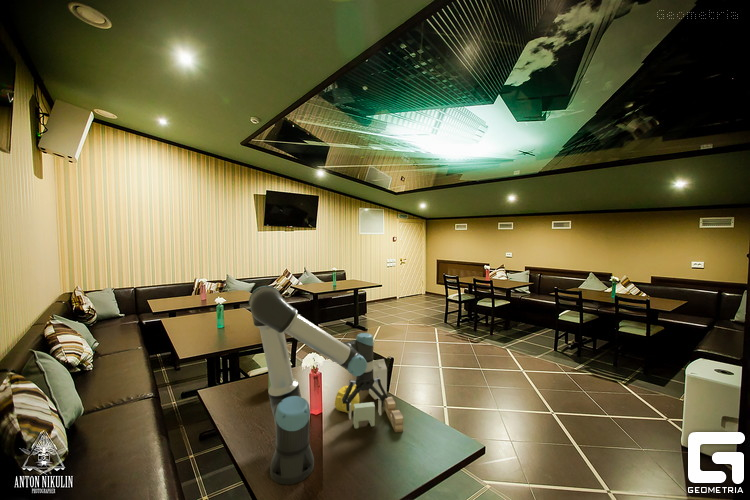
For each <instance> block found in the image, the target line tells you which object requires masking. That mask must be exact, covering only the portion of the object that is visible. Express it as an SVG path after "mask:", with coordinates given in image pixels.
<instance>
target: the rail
mask: <svg viewBox="0 0 750 500" xmlns="http://www.w3.org/2000/svg"><path fill="white" fill-rule="evenodd" d="M387 397H388V398H387V399H386V398H385V399H384V411H385V412H386V415H387V418H388V420H389V422H390V424H391V426H392V428H393V431H394V432H395V433H402V432H404V416H403V414H402V413H401V411H400V409H398V410H397V409H396V405H397V404H396V401H395V400H394V398H393V396H387Z"/></svg>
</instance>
